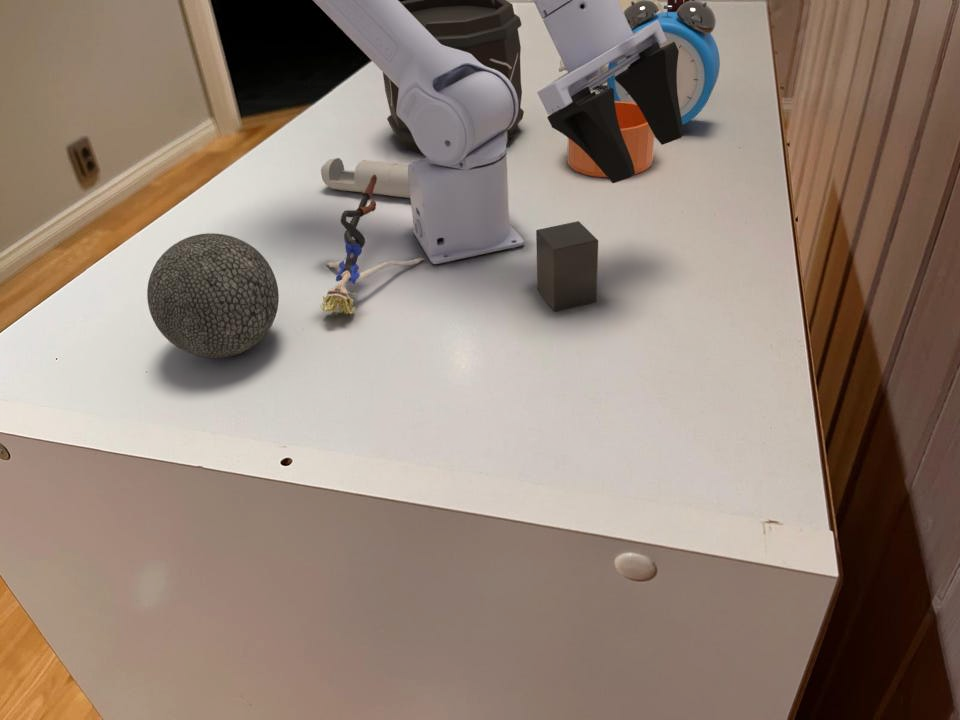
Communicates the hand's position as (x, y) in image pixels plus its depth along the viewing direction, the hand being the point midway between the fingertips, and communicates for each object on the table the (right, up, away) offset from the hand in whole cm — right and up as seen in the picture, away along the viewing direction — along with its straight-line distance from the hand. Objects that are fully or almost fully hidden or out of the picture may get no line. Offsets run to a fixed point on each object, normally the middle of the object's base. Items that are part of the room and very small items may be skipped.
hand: (649, 158), depth 64 cm
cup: (+2, +7, +29) cm, 30 cm away
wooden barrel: (-17, +13, +39) cm, 44 cm away
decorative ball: (-35, -16, +1) cm, 38 cm away
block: (-6, -11, +5) cm, 13 cm away
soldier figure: (+3, +24, +52) cm, 58 cm away
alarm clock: (+9, +14, +37) cm, 41 cm away
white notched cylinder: (-24, +2, +25) cm, 34 cm away
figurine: (-26, -10, +9) cm, 29 cm away
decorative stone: (+12, +43, +76) cm, 88 cm away
